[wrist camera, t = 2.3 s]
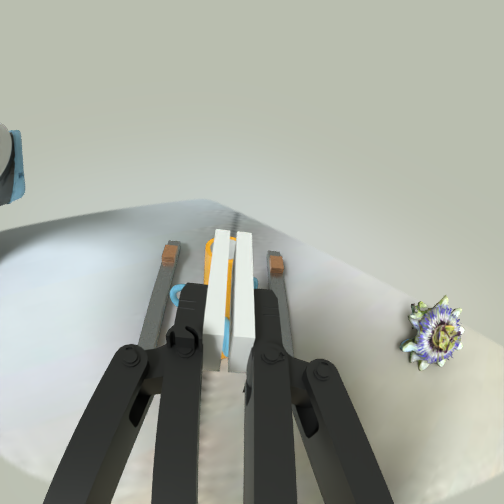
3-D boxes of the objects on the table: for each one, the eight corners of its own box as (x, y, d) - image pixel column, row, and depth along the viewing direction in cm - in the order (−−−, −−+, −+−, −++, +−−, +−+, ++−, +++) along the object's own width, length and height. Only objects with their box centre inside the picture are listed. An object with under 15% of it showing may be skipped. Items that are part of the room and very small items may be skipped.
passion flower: (403, 383, 40) (402, 363, 32) (393, 326, 47) (388, 293, 39) (464, 364, 36) (479, 338, 28) (449, 309, 43) (456, 272, 35)
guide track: (293, 384, 33) (298, 374, 32) (135, 370, 31) (131, 359, 30) (277, 258, 52) (280, 247, 50) (169, 247, 50) (168, 235, 48)
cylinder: (223, 296, 43) (234, 206, 34) (277, 340, 38) (308, 252, 29) (154, 337, 35) (141, 244, 26) (208, 395, 30) (214, 314, 21)
